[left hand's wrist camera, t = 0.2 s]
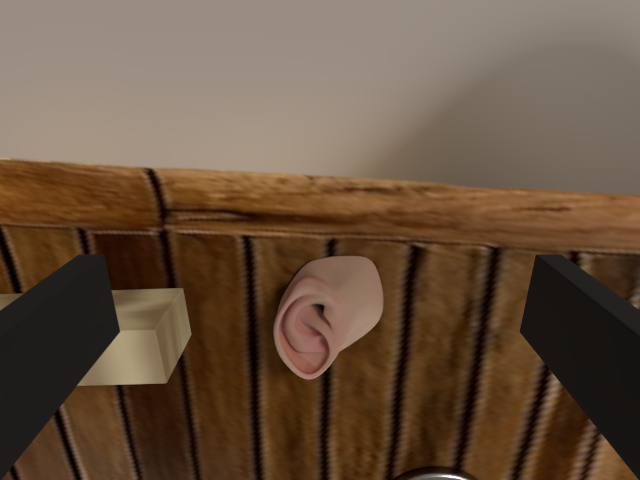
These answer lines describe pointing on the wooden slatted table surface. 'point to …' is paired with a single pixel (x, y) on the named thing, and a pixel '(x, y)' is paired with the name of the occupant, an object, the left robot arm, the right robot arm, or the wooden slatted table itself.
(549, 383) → the wooden slatted table surface
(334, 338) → the anatomical model
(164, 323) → the birch beam
